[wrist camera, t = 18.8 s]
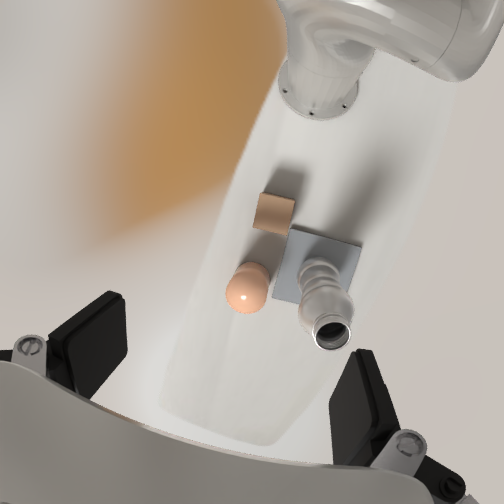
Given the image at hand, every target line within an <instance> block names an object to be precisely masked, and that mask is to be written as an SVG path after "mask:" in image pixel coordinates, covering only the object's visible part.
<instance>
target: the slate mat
mask: <svg viewBox="0 0 504 504" xmlns="http://www.w3.org/2000/svg"><path fill="white" fill-rule="evenodd" d="M361 249H362V248H361V247H359V246H356V245H352V244H349V243H345V242H341V241H338V240H334V239H330V238H327V237H323V236H319V235H316V234H312V233H308V232H304V231H301V230H297V229H293V228H290V232H289V235H288V239H287V243H286V247H285V250H284V254H283V258H282V262H281V265H280V269H279V273H278V276H277V280H276V283H275V287H274V291H273V294H272V298H275V299H279V300H283V301H287V302H291V303H295V304H300V301H301V298H302V293H301V291H300V289H299V287H298V285H297V273H298V270H299V268H300V267H301V265H302V264H303V263H304V262H305V261H306V260H308V259H310V258H313V257H324V258H326V259H328V260H330V261H332V262H333V263H334V264H335V265H336V267H337V268H338V271H339V275H340V285H341V287H342V288H343V289H344V290H345V291H346V292H347V291H348V288H349V285H350V282H351V279H352V276H353V273H354V270H355V267H356V264H357V261H358V258H359V255H360V252H361Z"/></svg>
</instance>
